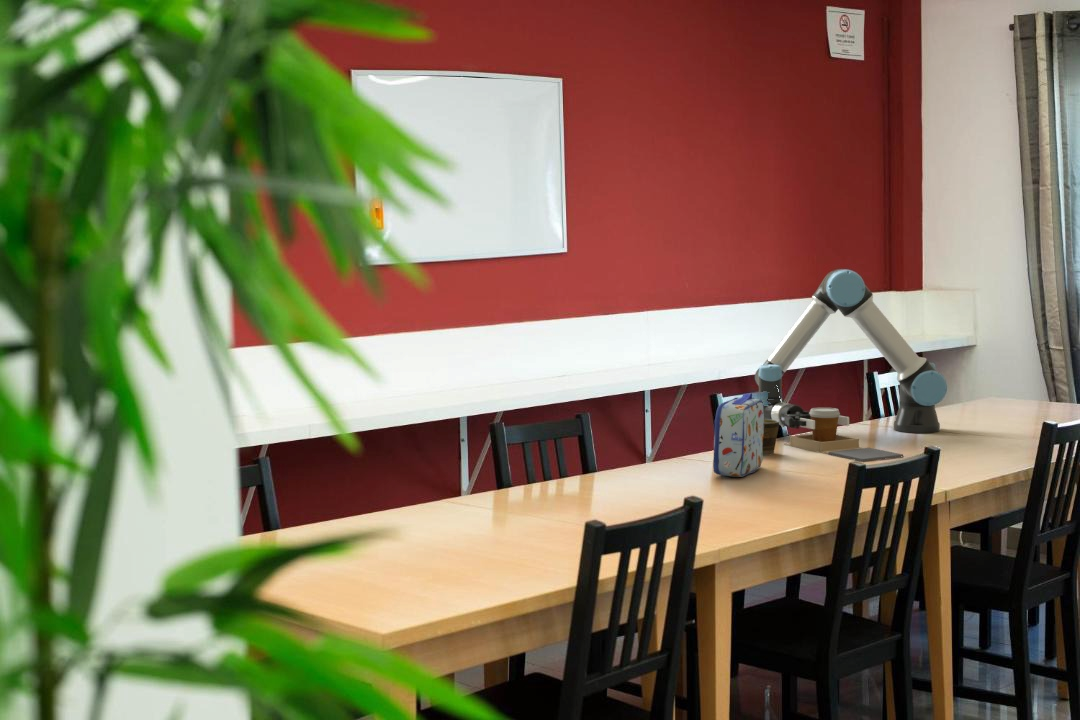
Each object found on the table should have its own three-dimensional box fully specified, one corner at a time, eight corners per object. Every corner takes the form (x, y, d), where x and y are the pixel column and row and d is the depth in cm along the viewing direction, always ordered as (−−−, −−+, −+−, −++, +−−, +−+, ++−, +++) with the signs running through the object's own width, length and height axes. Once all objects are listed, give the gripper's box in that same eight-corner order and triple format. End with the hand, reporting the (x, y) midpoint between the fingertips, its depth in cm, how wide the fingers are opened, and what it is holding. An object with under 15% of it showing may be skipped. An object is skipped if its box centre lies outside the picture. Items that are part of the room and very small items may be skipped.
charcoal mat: (868, 450, 401) (868, 447, 401) (903, 457, 388) (903, 454, 388) (828, 454, 393) (828, 451, 393) (862, 461, 380) (862, 459, 380)
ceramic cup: (756, 449, 404) (756, 417, 403) (784, 452, 398) (785, 420, 397) (734, 455, 394) (735, 422, 393) (763, 458, 388) (764, 425, 387)
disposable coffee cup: (805, 448, 405) (805, 410, 404) (813, 444, 414) (814, 406, 413) (835, 450, 401) (835, 412, 400) (843, 445, 409) (843, 408, 408)
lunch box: (731, 463, 380) (732, 389, 378) (767, 465, 376) (767, 390, 374) (709, 479, 355) (709, 400, 353) (746, 482, 351) (747, 401, 349)
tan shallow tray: (821, 440, 420) (821, 431, 420) (865, 449, 401) (865, 440, 401) (784, 444, 413) (784, 435, 413) (827, 453, 395) (827, 444, 394)
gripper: (818, 423, 429) (862, 432, 410) (757, 429, 417) (799, 438, 398) (818, 401, 428) (862, 408, 409) (757, 406, 416) (799, 414, 398)
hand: (831, 423), depth 404 cm, fingers open, 13 cm apart
